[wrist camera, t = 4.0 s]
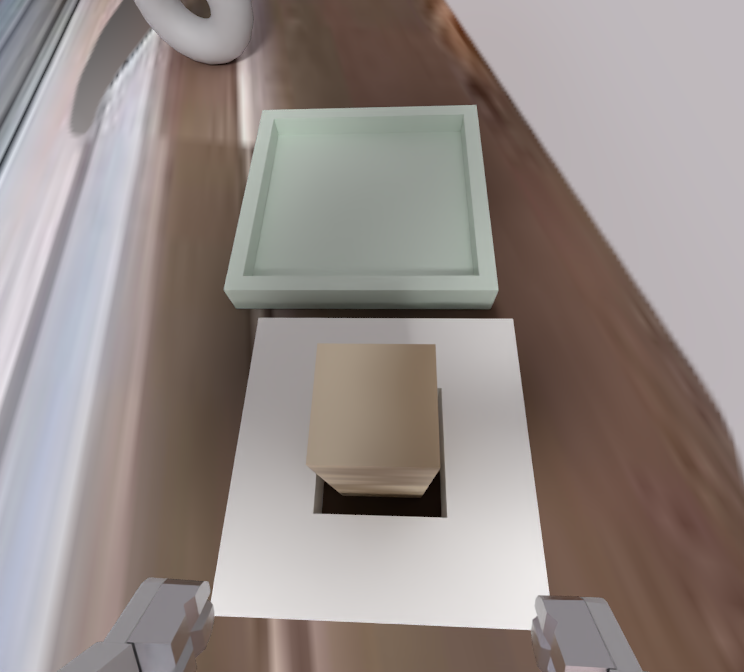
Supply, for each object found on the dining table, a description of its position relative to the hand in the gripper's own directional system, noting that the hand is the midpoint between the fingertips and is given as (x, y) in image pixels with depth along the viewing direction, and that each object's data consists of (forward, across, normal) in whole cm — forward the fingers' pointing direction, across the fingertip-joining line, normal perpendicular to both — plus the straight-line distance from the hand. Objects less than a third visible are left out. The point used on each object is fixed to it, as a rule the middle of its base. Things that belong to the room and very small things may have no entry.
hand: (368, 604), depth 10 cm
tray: (+23, +2, -8) cm, 25 cm away
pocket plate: (+11, 0, +4) cm, 12 cm away
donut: (+36, +16, -21) cm, 45 cm away
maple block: (+11, 0, +4) cm, 12 cm away
